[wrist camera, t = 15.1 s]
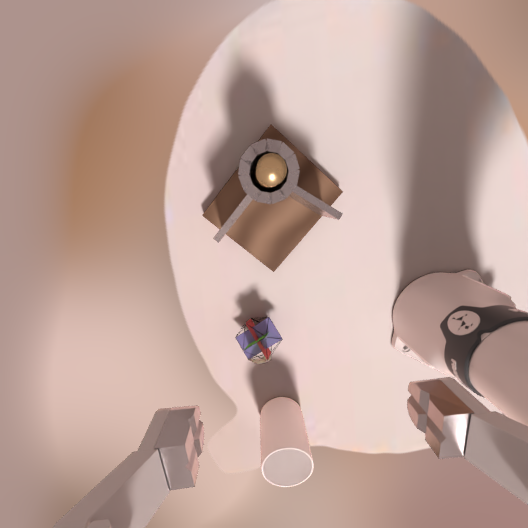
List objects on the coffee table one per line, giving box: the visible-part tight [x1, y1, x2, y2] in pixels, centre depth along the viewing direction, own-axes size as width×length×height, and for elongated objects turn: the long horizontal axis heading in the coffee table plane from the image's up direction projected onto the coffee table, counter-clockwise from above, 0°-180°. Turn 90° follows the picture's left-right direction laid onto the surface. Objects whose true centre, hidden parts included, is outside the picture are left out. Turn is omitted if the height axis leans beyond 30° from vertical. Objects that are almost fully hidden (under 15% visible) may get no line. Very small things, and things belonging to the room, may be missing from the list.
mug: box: [260, 397, 314, 487], centre depth 43 cm, size 12×8×10 cm
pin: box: [255, 153, 287, 190], centre depth 29 cm, size 3×3×12 cm
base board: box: [202, 125, 343, 272], centre depth 37 cm, size 14×16×2 cm
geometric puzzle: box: [235, 317, 283, 364], centre depth 40 cm, size 7×7×8 cm
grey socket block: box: [213, 138, 342, 243], centre depth 32 cm, size 13×13×9 cm
